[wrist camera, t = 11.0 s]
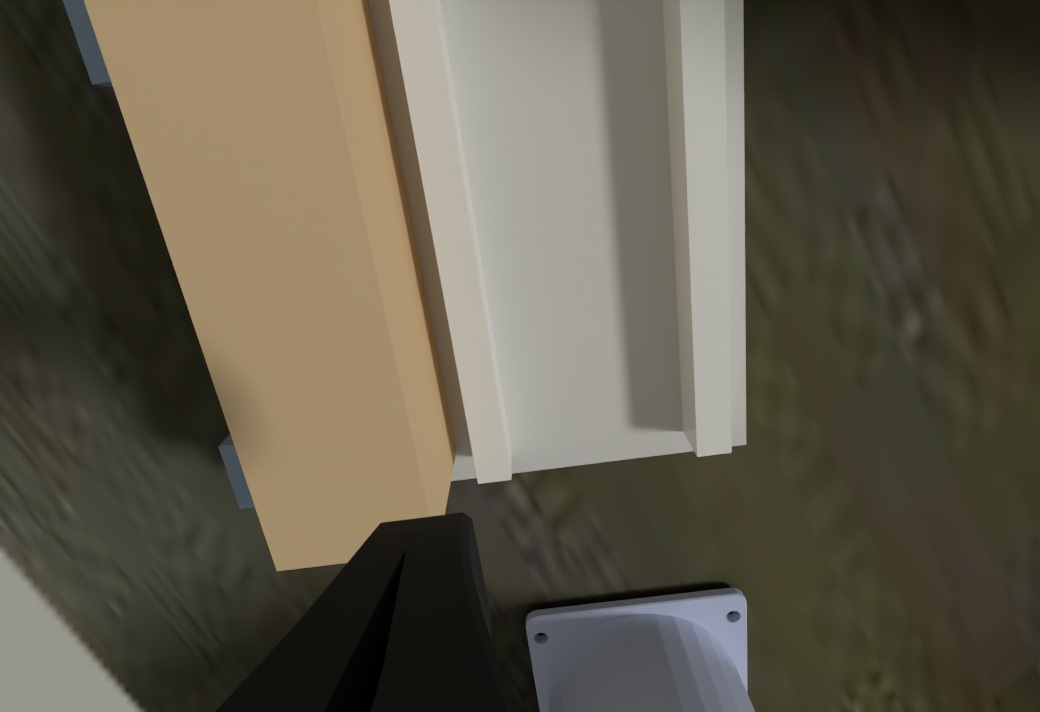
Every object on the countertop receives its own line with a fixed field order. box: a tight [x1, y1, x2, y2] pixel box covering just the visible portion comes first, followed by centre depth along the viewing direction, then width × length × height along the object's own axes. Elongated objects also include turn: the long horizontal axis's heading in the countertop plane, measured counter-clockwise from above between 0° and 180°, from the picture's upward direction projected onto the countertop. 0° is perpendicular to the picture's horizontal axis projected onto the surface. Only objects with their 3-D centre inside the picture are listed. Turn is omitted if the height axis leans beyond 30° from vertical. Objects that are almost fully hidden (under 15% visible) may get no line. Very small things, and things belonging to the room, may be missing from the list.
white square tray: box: [63, 0, 746, 509], centre depth 16 cm, size 16×16×3 cm
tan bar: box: [84, 0, 456, 571], centre depth 15 cm, size 14×4×5 cm, turn 8°
